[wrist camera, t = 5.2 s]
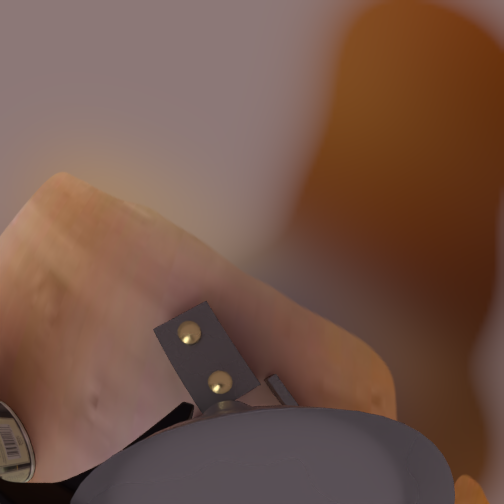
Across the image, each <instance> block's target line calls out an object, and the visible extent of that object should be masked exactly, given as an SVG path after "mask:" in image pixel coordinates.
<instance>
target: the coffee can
mask: <svg viewBox="0 0 504 504" xmlns="http://www.w3.org/2000/svg"><path fill="white" fill-rule="evenodd" d="M34 470H35V459H34V453H33V449H32V446H31V443H30V440H29V437H28V435H27V433H26V431H25V429H24V427H23V425H22V423H21V422H20V420H19V418H18V417H17V416H16V415H15V413H14V412H13V411H12V410H11V408H10V407H9V406H7V405H6V404H5V403H4V402H2V401H0V478H2V479H4V480H7V481H12V482H27V481H29V480H30V479H31V478H32V476H33V474H34Z"/></svg>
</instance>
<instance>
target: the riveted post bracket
mask: <svg viewBox="0 0 504 504" xmlns="http://www.w3.org/2000/svg"><path fill="white" fill-rule="evenodd" d="M153 330H154V332H155V334H156V336H157V338H158V340H159V342H160V344H161V346H162V347H163V349H164V351H165V353H166V355H167V357H168V358H169V360H170V362H171V364H172V365H173V367H174V369H175V371H176V372H177V374H178V376H179V377H180V379H181V381H182V382H183V384H184V386H185V387H186V389H187V390H188V392H189V394H190V395H191V397H192V398H193V400H194V401H195V403H196V405H197V406H198V408H199V409H200V411H201V412H202V414H204V412H205V411H206V410H207V409H208V408H209V407H211V406H212V405H214V404H216V403H219V402H222V401H228V400H233V401H234V400H236V399H237V398H239V397H241V396H242V395H244V394H246V393H247V392H249V391H251V390H252V389H254V388H255V387H257V386H259V385H260V383H259V381H258V380H257V378H256V377H255V375H254V374H253V372H252V371H251V370H250V368H249V367H248V365H247V364H246V362H245V361H244V359H243V358H242V356H241V355H240V353H239V352H238V350H237V349H236V347H235V346H234V344H233V343H232V341H231V340H230V338H229V336H228V335H227V333H226V332H225V330H224V329H223V327H222V325H221V324H220V322H219V321H218V319H217V318H216V316H215V314H214V313H213V311H212V309H211V308H210V306H209V305H208V303H207V301H205V302H203V303H201V304H199V305H197V306H196V307H194V308H192V309H190V310H188V311H186V312H184V313H183V314H181V315H179V316H177V317H175V318H173V319H171V320H169V321H168V322H166V323H164V324H162V325H160V326H158V327H156V328H154V329H153ZM264 381H265V382H266V384H267V385H268V386H269V388H270V389H271V391H272V392H273V393H274V395H275V396H276V397H277V399H278V400H279V402H280V403H281V404H282V405H289V406H299V405H298V404H297V403H296V401H295V400H294V398H293V397H292V396H291V394H290V393H289V392H288V390H287V389H286V387H285V386H284V385H283V383H282V382H281V380H280V379H279V378H278V376H277V375H276V374H274V375H271V376H270V377H268V378H267V379H265V380H264Z"/></svg>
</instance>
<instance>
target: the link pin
mask: <svg viewBox="0 0 504 504" xmlns="http://www.w3.org/2000/svg"><path fill="white" fill-rule="evenodd" d="M454 500H455V491H454V481H453V478H452V474H451V471H450V467H449V466H448V464H447V462H446V460H445V458H444V456H443V454H442V453H441V452H440V451H439V450H438V448H437V447H436V446H435V445H434V444H433V442H431V441H430V440H429V439H427V438H426V437H425V436H424V435H422V434H421V433H420V432H418V431H416V430H415V429H413V428H411V427H409V426H407V425H405V424H403V423H401V422H398V421H395V420H392V419H389V418H386V417H384V416H379V415H374V414H369V413H365V412H360V411H351V410H340V409H331V408H320V407H310V406H289V405H274V406H254V407H252V406H250V405H247V404H245V403H243V402H239V401H233V400H228V401H222V402H219V403H216V404H214V405H212V406H211V407H209V408H208V409H207V410H206V411H205V412H204V414H203V415H202V416H199V417H196V418H193V419H190V420H186V421H183V422H180V423H177V424H175V425H172V426H170V427H168V428H165V429H163V430H161V431H158V432H156V433H154V434H152V435H150V436H149V437H147V438H145V439H143V440H141V441H139V442H137V443H136V444H134V445H132V446H130V447H128V448H126V449H124V450H123V451H121V452H119V453H117V454H115V455H113V456H112V457H110V458H109V459H108V460H106V461H105V462H103V463H102V464H101V465H99V466H98V467H97V468H95V469H94V470H93V471H92V472H91V473H90V474H89V475H88V476H87V477H86V479H85V480H84V481H83V482H82V483H81V484H80V486H79V487H78V489H77V491H76V492H75V494H74V496H73V497H72V499H71V503H70V504H454Z"/></svg>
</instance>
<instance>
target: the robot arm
mask: <svg viewBox="0 0 504 504" xmlns="http://www.w3.org/2000/svg"><path fill="white" fill-rule="evenodd" d="M193 410H194V405H193V404H190V403H187V402H182V403H181V404H180V405H179V406H177V407H176V408H175V409H174V410H173V411H171V412H170V413H169V414H168V415H166V416H165V417H164V418H163V419H161V420H160V421H159V422H158V423H156V424H155V425H154V426H153V427H151V428H150V429H149V430H148V431H146V432H145V433H144V434H142V435H141V436H140V437H139V438H137V439H136V440H135V441H133V442H132V443H131V444H129V445H128V446H127V447H125V448H124V449H126V448H128V447H130V446H132V445H134V444H136V443H137V442H139V441H141V440H143V439H145V438H147V437H149V436H150V435H152V434H154V433H156V432H158V431H161V430H163V429H165V428H168V427H170V426H172V425H175V424H177V423H180V422H183V421H186V420H190V419H192V416H193ZM124 449H123V450H124ZM120 452H121V451H120ZM118 453H119V452H118ZM101 464H102V463H101ZM101 464H100V465H101ZM98 466H99V465H98ZM98 466H96V467H94V468H92V469H90V470H88V471H85V472H83V473H81V474H79V475H77V476H74V477H72V478H70V479H67V480H64V481H61V482H56V483H25V482H12V481H7V480H4V479H2V478H0V504H70V503H71V499H72V497H73V496H74V494H75V492H76V491H77V489H78V487H79V486H80V484H81V483H82V482H83V481H84V480H85V479H86V477H87V476H88V475H89V474H90V473H91V472H92V471H93V470H94V469H95V468H97V467H98Z"/></svg>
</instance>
